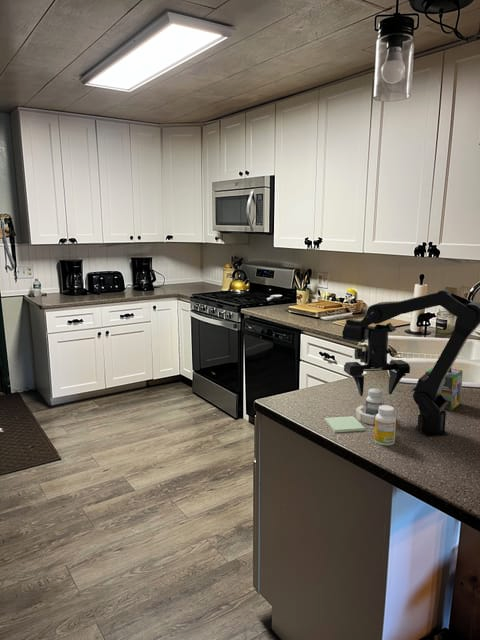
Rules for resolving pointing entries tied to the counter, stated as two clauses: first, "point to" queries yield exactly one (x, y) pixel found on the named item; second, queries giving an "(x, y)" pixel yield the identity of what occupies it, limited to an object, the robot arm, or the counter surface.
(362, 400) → the counter surface
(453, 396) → the chalk box
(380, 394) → the pill bottle
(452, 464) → the counter surface
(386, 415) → the supplement bottle
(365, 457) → the counter surface
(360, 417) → the locking ring
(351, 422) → the pad
